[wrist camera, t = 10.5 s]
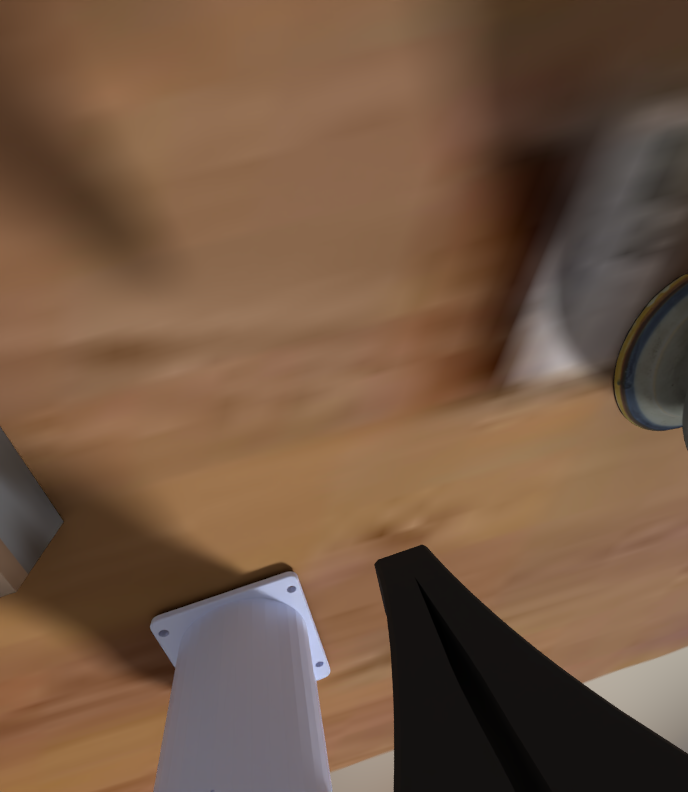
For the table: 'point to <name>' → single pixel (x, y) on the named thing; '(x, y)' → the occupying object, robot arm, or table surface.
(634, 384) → the apothecary jar
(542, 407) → the table surface
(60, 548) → the table surface
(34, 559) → the brown grey rectangular block
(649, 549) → the table surface
